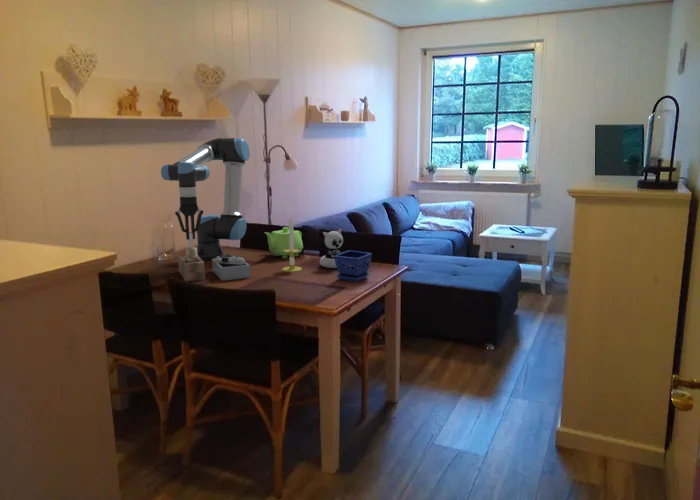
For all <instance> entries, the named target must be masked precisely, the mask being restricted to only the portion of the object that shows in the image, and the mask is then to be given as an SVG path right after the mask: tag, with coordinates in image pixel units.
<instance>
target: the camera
mask: <svg viewBox="0 0 700 500" xmlns="http://www.w3.org/2000/svg"><path fill="white" fill-rule="evenodd" d="M236 257H237V256H235V255H233V254H231V253H230V252H229V253H226V254H225V255H224V257H222V258H220V257H217V258H215V262H216V263H219V264H220V265H221V266H222V267H232V266H242V265H245V262H246V260H245V259H244V257H240V258H239V259H238V258H236Z"/></svg>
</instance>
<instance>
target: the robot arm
mask: <svg viewBox="0 0 700 500" xmlns="http://www.w3.org/2000/svg"><path fill="white" fill-rule="evenodd" d="M250 154H251V153H250V147H249V144H248V142H247V141H246V140H245V139H244V138H237V137H235V138H234V137H233V138H232V137H228V138H227V137H223V138H222V137H221V138H219V137H218V138H213V139H211V140H208V141H205V142H204V143H201V144H200V145H199V146H198V147H197V148H196V150H195V151H193V152H191V153H190V154H187V155H186V156H184V157H183V158H180V159H179V160H178V161H176V162H174V163H173V164H170V163H169V164H164V165H162V166H161V169H160V175H161V177H162V179H163V180H164V181H169V182H174V181H175V182H177V181H178V186H179V187H178V189H179V196H180V197H179V207H178V208H179V209H178V210H177V211H174V214H175V216H176V218H177V219H178V224H179V227H180V229H181V231H182V233H185V238H186V240H188V246H189V247H194V240H195V239H196V240H197V246H196V248H197V255H198V256H199V257H200V258H201V259H202V260H203V261H212V259H215V258H217V257H220V258H222V257H224V256H225V255H224V250H223V249H222V246H221V242H220V240H229V241H239V240H241V239H242V238H243V237H244V236H245V234H246V231H247V221H246V219H245V218H244V217H243V214H242V213H241V198H242V197H241V194H242V175H243V174H242V169H243V167H244V166H245V165H246V162H247V161H248V160H249V158H250ZM212 161H222V164H223V165H224V167H225V168H224V170H225V171H224V173H225V174H224V191H223V192H224V193H223V194H224V195H223V196H224V197H223V211H222V212H221V213H220V215H219V214H217V213H216V214H215V213H214V214H208V215H207V214H206V215H203V214H204V210H202V209H200V208H199V206H198V200H197V183H196V182H203V181H206V180H207V179H208V178H210V169H209V168H208V166H206V165H205V163H210V162H212ZM181 214H182V215H183V216H184V223H183V220H182V217H181ZM196 214H197V218H196V221H195V215H196ZM219 216H220V217H219ZM189 218H190V219H189ZM189 220H190V221H189ZM189 222H190V224H189ZM195 222H196V223H195ZM190 227H191V228H190ZM190 229H191V231H190Z"/></svg>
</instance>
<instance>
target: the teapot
mask: <svg viewBox="0 0 700 500" xmlns="http://www.w3.org/2000/svg"><path fill="white" fill-rule="evenodd" d="M293 231H294V249H300V252H296V253H294V257H299V256H300V255H299V254H301V253H302V251H303V249H304V244H303V240H302V236H303V234H302V232H301V230H300V231H299V230H294V229H293ZM263 233H264V234H265V235H266V237H267V243H268V250H269V251H270V253H271V254H273V257H280V256H281V259H285V260H286V259H288V258H289V257H288V256H289V253H286V252H284V251H283V250H284V249H290V242H289V226H287V227H285V226H284V227H282V229H281V230H273V231H271V232H267V231H266V232H263Z"/></svg>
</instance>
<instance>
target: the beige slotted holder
mask: <svg viewBox="0 0 700 500" xmlns="http://www.w3.org/2000/svg"><path fill="white" fill-rule="evenodd" d="M197 257H198V262H189V263H187V258H186V254H183V255H177V261H178V262H177V264H178V272H179V274H180V275H181V277H182V278H183V281H185V282H191V281H199V280H206V269H205V266H206V265H205V261H204V260H202V259H201V258H200V257H199V256H198V255H197Z"/></svg>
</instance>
